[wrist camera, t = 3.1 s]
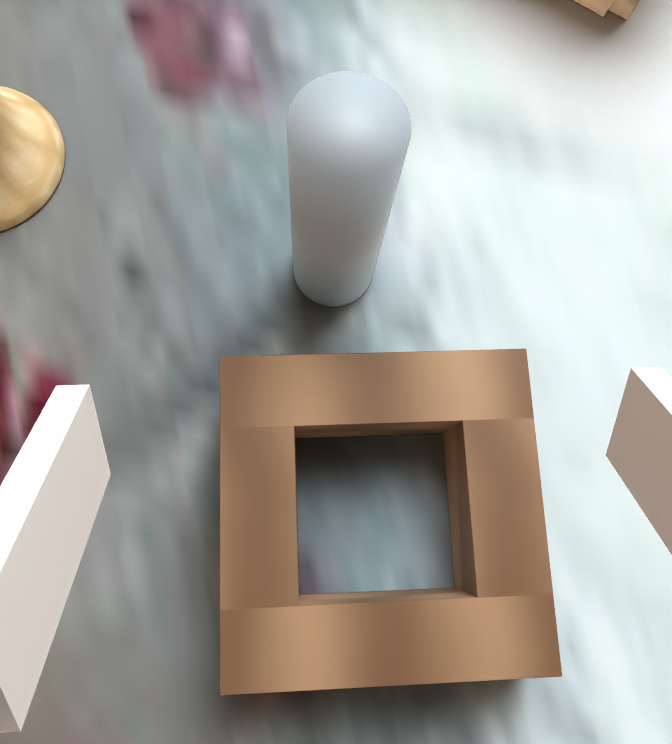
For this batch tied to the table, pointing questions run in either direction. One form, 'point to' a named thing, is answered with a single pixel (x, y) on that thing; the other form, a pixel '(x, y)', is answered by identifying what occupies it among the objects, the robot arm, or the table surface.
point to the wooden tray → (610, 6)
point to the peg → (342, 180)
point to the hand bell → (27, 157)
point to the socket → (466, 515)
